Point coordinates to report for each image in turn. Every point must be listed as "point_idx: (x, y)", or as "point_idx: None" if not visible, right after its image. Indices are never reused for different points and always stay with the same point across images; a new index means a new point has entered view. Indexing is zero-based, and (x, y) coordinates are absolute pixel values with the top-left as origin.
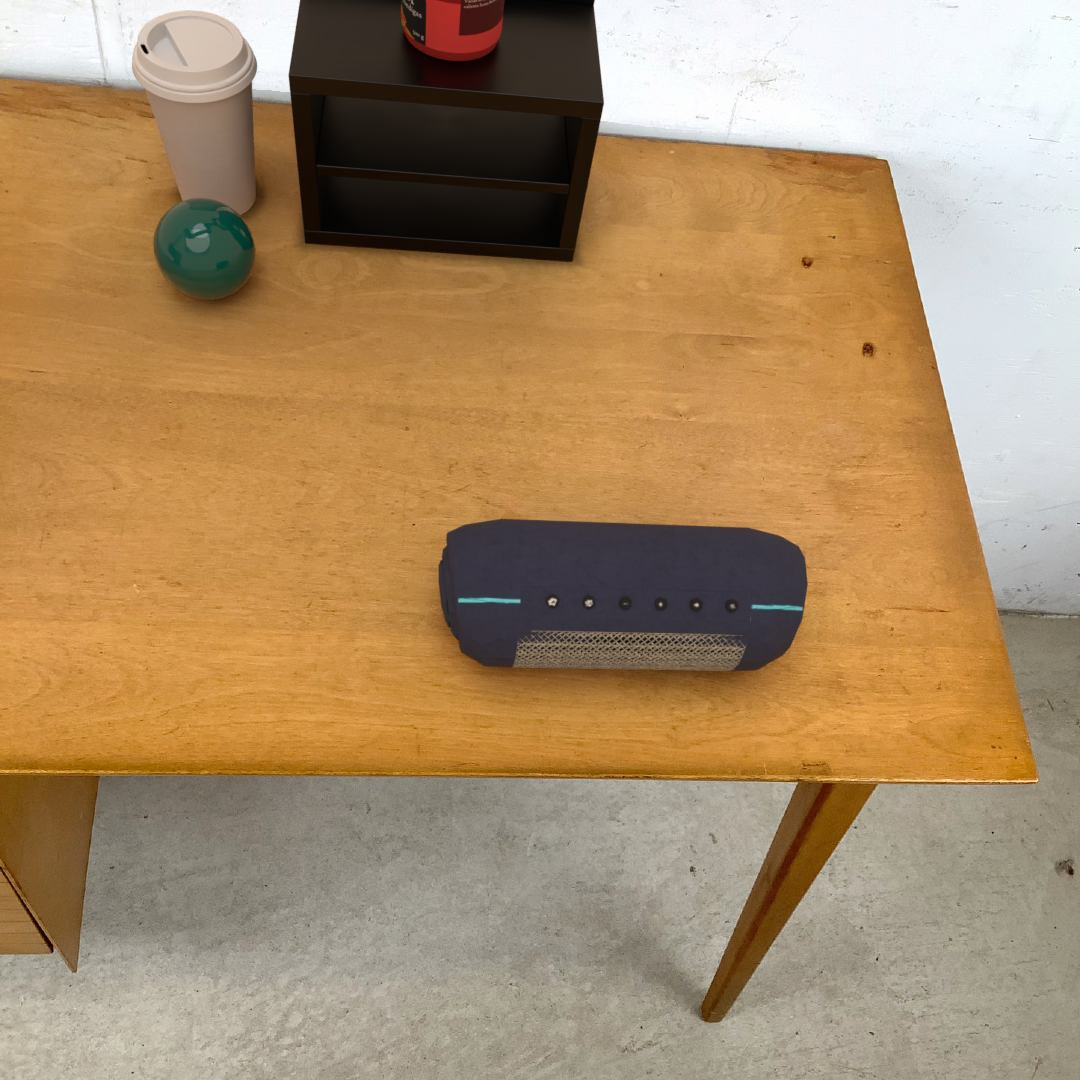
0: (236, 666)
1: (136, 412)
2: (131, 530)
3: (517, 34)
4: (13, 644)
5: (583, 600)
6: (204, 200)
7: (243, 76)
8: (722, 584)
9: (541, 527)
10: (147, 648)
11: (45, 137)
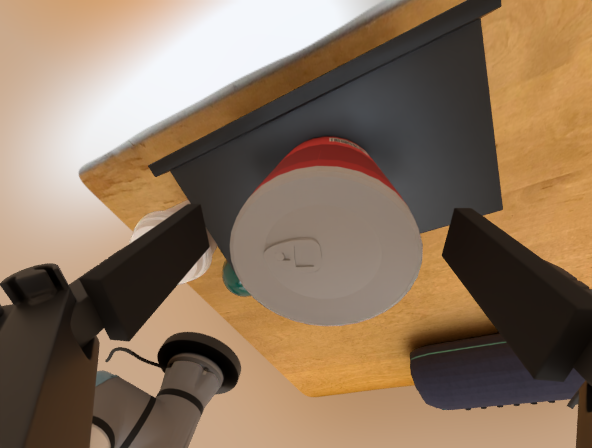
0: (348, 373)
1: (268, 316)
2: (295, 349)
3: (390, 147)
4: (288, 378)
5: (481, 407)
6: (235, 277)
7: (206, 254)
8: (549, 400)
9: (459, 389)
10: (321, 374)
11: (125, 207)
